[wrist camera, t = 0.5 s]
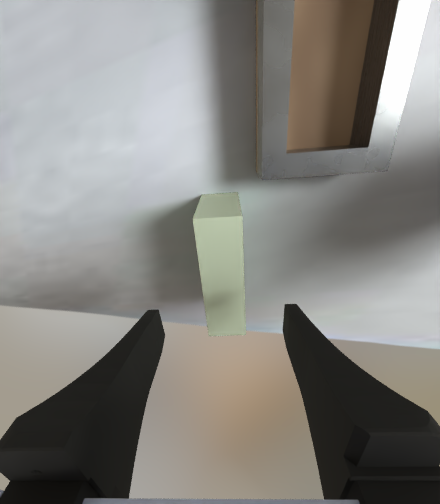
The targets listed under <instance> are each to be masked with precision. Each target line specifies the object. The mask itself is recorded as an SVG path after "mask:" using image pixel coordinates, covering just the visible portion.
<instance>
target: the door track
mask: <svg viewBox="0 0 440 504" xmlns="http://www.w3.org/2000/svg"><path fill="white" fill-rule="evenodd" d="M430 1H431V0H256V172H257V174H258V175H259V177H260V178H261V179H262V180H269V179H283V178H297V177H311V176H325V175H339V174H353V173H367V172H381V171H388V167H389V163H390V159H391V155H392V151H393V147H394V143H395V139H396V135H397V131H398V127H399V123H400V120H401V116H402V112H403V108H404V104H405V100H406V96H407V92H408V88H409V84H410V80H411V76H412V72H413V68H414V64H415V60H416V56H417V53H418V49H419V45H420V41H421V37H422V33H423V29H424V25H425V21H426V17H427V13H428V9H429V5H430Z"/></svg>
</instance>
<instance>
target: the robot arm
mask: <svg viewBox="0 0 440 504" xmlns="http://www.w3.org/2000/svg"><path fill="white" fill-rule="evenodd" d="M283 334H284V339H285V343H286V348H287V351H288V354H289V357H290V360H291V363H292V367H293V370H294V372H295V376H296V379H297V382H298V384H299V387H300V391H301V394H302V398H303V402H304V406H305V410H306V414H307V419H308V423H309V427H310V432H311V437H312V441H313V446H314V450H315V455H316V460H317V465H318V469H319V475H320V480H321V485H322V490H323V496H324V500H307V499H305V500H304V499H301V500H300V499H129V493H130V486H131V480H132V473H133V468H134V462H135V456H136V451H137V445H138V439H139V435H140V429H141V425H142V420H143V415H144V411H145V407H146V402H147V398H148V394H149V391H150V388H151V385H152V381H153V379H154V375H155V372H156V369H157V366H158V363H159V360H160V356H161V353H162V348H163V343H164V338H165V333H164V329H163V325H162V321H161V318H160V314H159V310H148V311H147V312H146V313H145V314H144V315H143V316H142V317H141V318H140V320H139V321H138V322H137V323H136V324H135V325H134V326H133V327H132V329H131V330H130V331H129V332H128V333H127V334H126V335H125V336H124V337H123V338H122V339H121V340H120V341H119V343H117V344H116V345H115V347H113V348H112V349H111V350H110V351H109V352H108V353H107V354H106V355H105V356H104V357H103V358H102V359H101V360H99V362H97V363H96V364H95V365H94V366H92V367H91V368H90V369H89V370H87V371H86V372H85V373H84V374H82V375H81V376H80V377H78V378H77V379H76V380H75V381H73V382H72V383H70V384H69V385H68V386H66V387H65V388H63V389H62V390H60V391H59V392H58V393H56V394H55V395H53V396H52V397H50V398H49V399H47V400H46V401H44V402H43V403H41V404H39V405H37V406H36V407H34V408H32V409H31V410H29V411H27V412H26V413H24V414H23V415H21V416H19V417H17V418H16V419H15V421H14V422H13V423H12V425H11V426H10V427H9V429H8V430H7V431H6V433H5V434H4V436H3V437H2V438H1V440H0V473H2V474H3V475H4V476H5V477H6V478H8V479H9V480H10V482H9V484H8V486H7V487H6V489H5V491H2V490H0V504H440V466H439V465H440V426H439V425H438V423H437V422H436V421H435V420H434V419H433V417H432V416H431V415H430V414H429V413H428V411H426V410H425V409H423V408H421V407H419V406H418V405H416V404H414V403H413V402H411V401H409V400H408V399H406V398H404V397H403V396H401V395H399V394H398V393H396V392H394V391H393V390H391V389H390V388H388V387H387V386H385V385H384V384H382V383H381V382H379V381H378V380H376V379H375V378H374V377H372V376H371V375H369V374H368V373H367V372H365V371H364V370H363V369H361V368H360V367H359V366H357V365H356V364H355V363H354V362H352V361H351V360H350V359H349V358H348V357H347V356H345V355H344V354H343V353H342V352H341V351H340V350H338V349H337V348H336V347H335V346H334V345H333V344H332V343H331V342H330V341H329V340H328V339H327V338H326V337H325V336H324V335H323V334H322V333H321V332H320V331H319V330H318V329H317V327H316V326H315V325H314V324H313V323H312V322H311V321H310V320H309V319H308V317H307V316H306V315H305V314H304V313H303V311H302V310H301V309H300V308H299V306H298V305H297V304H285V308H284V322H283Z"/></svg>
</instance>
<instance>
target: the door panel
mask: <svg viewBox="0 0 440 504" xmlns="http://www.w3.org/2000/svg"><path fill="white" fill-rule="evenodd" d="M193 225H194V233H195V240H196V247H197V255H198V262H199V269H200V276H201V284H202V291H203V298H204V305H205V313H206V320H207V327H208V335H209V336H226V335H227V336H229V335H246V320H245V288H244V255H243V223H242V212H241V206H240V201H239V196H238V192H233V193H219V194H204V195H201V198H200V201H199V203H198V206H197V209H196V211H195V214H194V217H193Z"/></svg>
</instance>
